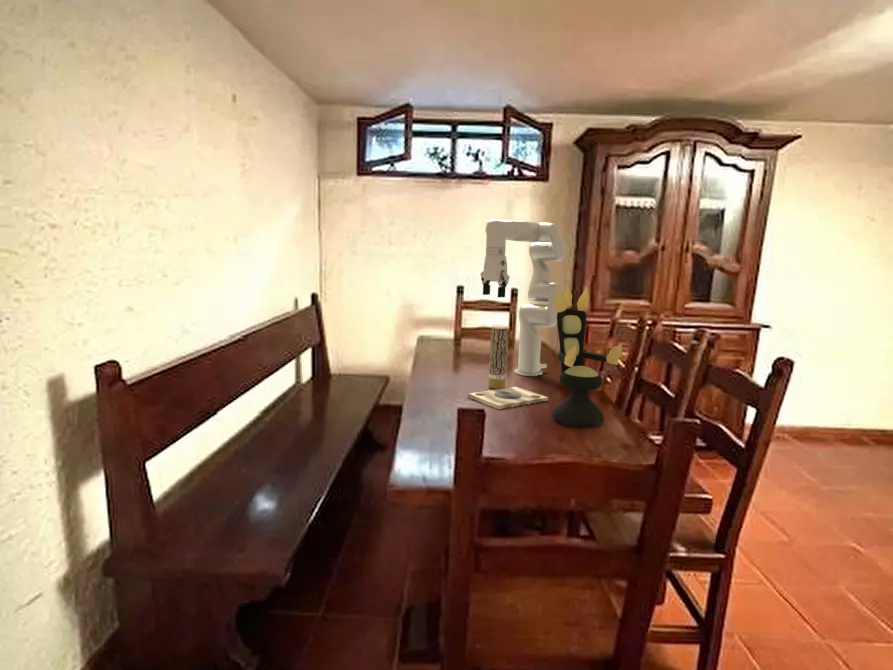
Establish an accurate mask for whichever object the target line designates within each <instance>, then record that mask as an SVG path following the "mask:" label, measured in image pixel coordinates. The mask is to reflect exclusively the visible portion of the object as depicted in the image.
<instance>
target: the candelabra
mask: <svg viewBox="0 0 893 670" xmlns="http://www.w3.org/2000/svg"><path fill="white" fill-rule="evenodd" d="M572 299H573V294H572V291H571V289H570V286H569V284H568V283H567V284H566V287H565V290H564V294H563V293H562V291H561V289H560V288H559V286H558V291H557V294H556V298H555V302H554V307H555V309H556V311H557V312H558V313H557V323H556V326H557V332H558V333H557V334H558V340H559V348H560V349H559V350H560V352H559V353H558V355H557V359H558V360H559V361H560V364H561V365H560V369H561V370H560V371H561V373H560V374H559V378H558V379H559V383H560V384H561V385H562V386H564V387H565V388H567V389H570V393H569V396H568V397H567V398H566V399H564V400H563V401H562V402H560V403H559V404H558V405H556V406H555V408H554V409H553V412H552V418H553V419H554V420H555V421H556V422H558V423H560V424H561V425H565V426H570V427H573V428H575V427H576V428H594V427H599V426H600V425H602V424H603V423H604V422H605V417H604V414H603V412H602V411H601V409H600V408H599V407H598V406H597V404H596V403H594V402H593V400H592V398H590V391H594V390H597V389H599V388H600V387H601V386H602V385H603V381H604V379H603V377H602V376H601V375H600V374H599V372H597V371H596V370H595V369H593V368H592V367H589V366H586V365H584V359H589V360H593V361H599V362H601V363H603V362H604V363H608V364H610V365H616V366H618V365H619V360H620V358H621V357H623V343H622V342H620V343H619V344H617V345H615V346H613V347H612V348H611V349H610V350H609V352H608V354H607V355H606V354H600V353H595V352H590V351H584V346H585V335H586V334H585V333H586V327H587V325H586V323H587V313H586V311H587V310H588V309H589V302H590V294H589V288H588V285H586V286H585V287H584V290H583V292H582V293H581V294H580V296H579V298H578V300H577V302H576V305H577V309H576V308H572V306H573V303H572V302H573V300H572Z"/></svg>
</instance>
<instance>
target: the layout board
mask: <svg viewBox="0 0 893 670" xmlns="http://www.w3.org/2000/svg"><path fill="white" fill-rule="evenodd" d="M467 398H468V399H470V400H473V399H474V400H473V401H475V400H476V402H478V401H479V402H478V403H480V402H481V404H483V405H486V406H488V407H491V406H492V407H491V408H493V407H494V408H493V409H496V408H497V409H496V410H498V409H499V410H504V409H503V408H505V409H509V408H508V407H511V408H515V407H514V406H517V407H520V406H519V405H522V406H525V405H524V404H528V405H530V404H529V403H534V402H540V403H542V402H541V401H546V402H548V401H549V396H545V395H542V394H539V393H536V392H533V391H530V390H527V389H525V388H523V387H522V388H521V387H518V386H512V387H505V388H503V389H491V390H484V391H483V390H482V391H477V392H470V393H467ZM547 400H548V401H547ZM534 404H535V403H534Z"/></svg>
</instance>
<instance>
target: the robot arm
mask: <svg viewBox="0 0 893 670" xmlns="http://www.w3.org/2000/svg"><path fill="white" fill-rule="evenodd" d="M485 233H486V239H485V240H486V241H485V243H486V244H485V256H484V263H483V264H484V265H483V271H481V272H480V279H481V280H480V281H481V283H482V284H481V285H482V295H483V296H487V295H488V296H489V295H491V284H490V283H491V282H495V283H497V284H498V287H497V297H498V298H505V297H506V288H507V285H508V284H509V281H510V275H509V274H508V261H507V256H506V242H507V241H513V242H527V243H530V245H529V246H528V247H529V248H528V254H529V257H530V261H531V264H532V276H531V280H530V284H529V287H528V290H527V298H528V299H529V300H530V301H531V303H524V304H522V305H521V306H520V308H519V311H518V318H519V343H518V344H519V345H518V360H517V361H518V362H517V368H514V371H513V372H514V374H516V375H519V376H524V377H525V376H526V377H538V375H540V376H542V375H543V371H542V369H546V368H547V367H548V365H547V364H546V363H541V361H540V360H541V346H542V334H541V330H540V329H539V327H543V328H544V327H546V328H553V327H555V326H556V325H557V313H558V312H557V311H556V309H555V307H554V302H555V298H556V294H557V291H558V286H559V288H560V289H561V291H562V293H563V294H564V292H565V290H564V286H563V285H562V284H561V283H558V282H555V281H551V280H552V276H553V271H552V268H551V267H550V265H549V263H548V261H550V262H560V261H564V259H565V258H566V256H567V255H568V253H567V245H566V242H565V240H564V237H563V234H562V232H561V230H560V228H559V226H558V225H557V224H556V223H554V222H536V221H526V220H512V219H511V220H510V219H509V220H508V219H490V220H488V221H487V223H486V225H485ZM533 302H534V303H533ZM539 303H542V304H539Z"/></svg>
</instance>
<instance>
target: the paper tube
mask: <svg viewBox="0 0 893 670" xmlns="http://www.w3.org/2000/svg"><path fill="white" fill-rule="evenodd" d="M490 329H491V331H490V344H489V345H490V346H489V347H490V348H489V367H488V368H489V369H488V387H489V388H490V389H492V390H496V389H503V388H506V382H507V381H506V379H507V364H508V363H507V362H508V361H507V360H508V346H509V345H508V344H509V343H508V342H509V326H507V325H503V324H502V325H501V324H492V325H491V328H490Z"/></svg>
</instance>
